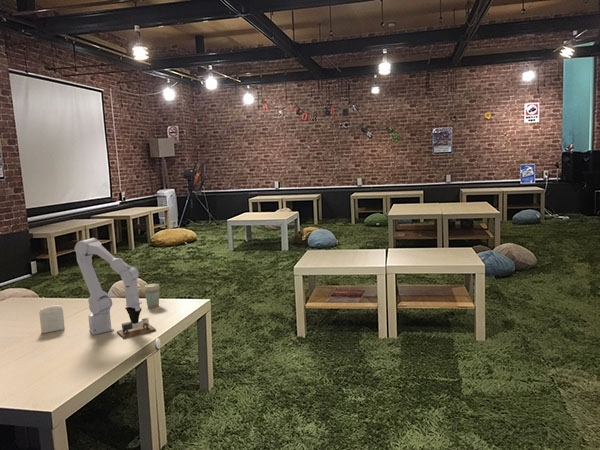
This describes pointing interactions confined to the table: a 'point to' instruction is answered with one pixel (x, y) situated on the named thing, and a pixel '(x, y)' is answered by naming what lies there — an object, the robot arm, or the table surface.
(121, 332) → the tool board
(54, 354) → the table surface
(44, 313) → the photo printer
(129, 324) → the lever door handle
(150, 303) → the coffee cup
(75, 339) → the table surface
